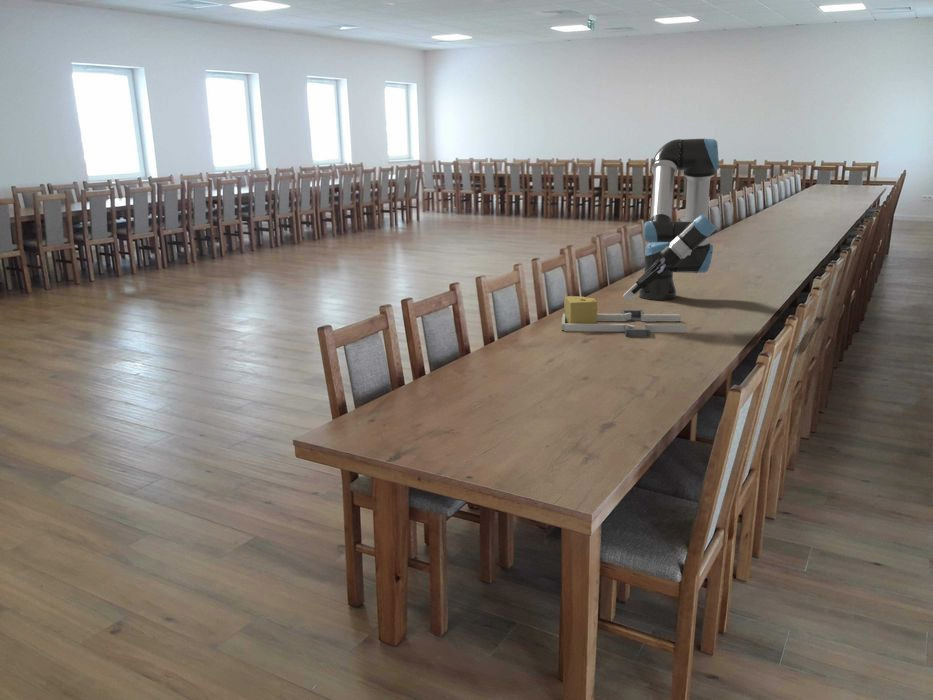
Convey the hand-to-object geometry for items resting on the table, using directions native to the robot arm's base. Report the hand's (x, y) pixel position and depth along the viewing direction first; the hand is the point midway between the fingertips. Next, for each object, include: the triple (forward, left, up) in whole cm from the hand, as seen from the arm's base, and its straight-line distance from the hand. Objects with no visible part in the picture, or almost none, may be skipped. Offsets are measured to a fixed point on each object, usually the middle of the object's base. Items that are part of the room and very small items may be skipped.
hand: (625, 298), depth 272 cm
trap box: (+2, -2, -10) cm, 10 cm away
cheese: (+2, -16, -10) cm, 19 cm away
